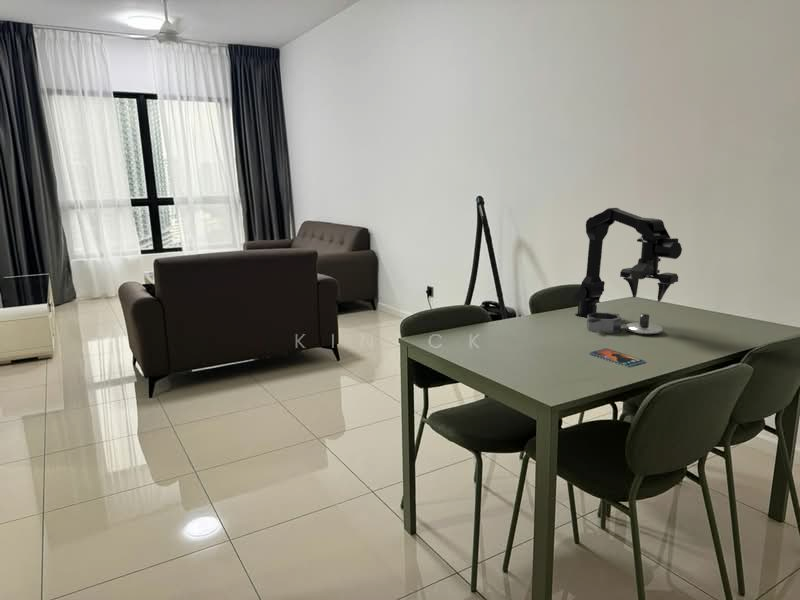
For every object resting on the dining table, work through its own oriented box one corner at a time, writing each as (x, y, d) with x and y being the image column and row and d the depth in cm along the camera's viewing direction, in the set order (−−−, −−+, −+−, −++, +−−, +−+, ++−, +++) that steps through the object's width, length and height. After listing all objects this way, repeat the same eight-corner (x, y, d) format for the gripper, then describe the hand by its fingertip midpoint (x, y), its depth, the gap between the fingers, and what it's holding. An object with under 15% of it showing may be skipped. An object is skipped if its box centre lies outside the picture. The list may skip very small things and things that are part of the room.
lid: (618, 331, 203) (619, 314, 202) (637, 326, 210) (639, 309, 208) (649, 338, 193) (651, 320, 192) (668, 332, 200) (670, 315, 199)
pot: (577, 329, 206) (577, 316, 205) (603, 323, 215) (604, 310, 214) (603, 336, 197) (604, 322, 196) (629, 328, 206) (630, 315, 205)
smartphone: (628, 366, 164) (588, 352, 177) (628, 370, 165) (588, 356, 177) (647, 360, 168) (606, 346, 181) (646, 364, 169) (606, 350, 181)
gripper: (612, 255, 199) (609, 298, 202) (663, 260, 184) (659, 307, 187) (630, 252, 205) (627, 294, 208) (680, 257, 190) (676, 302, 194)
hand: (646, 299), depth 199 cm, fingers open, 9 cm apart
